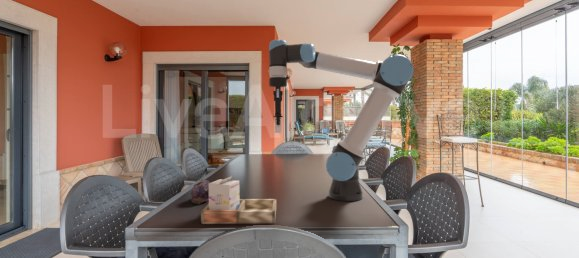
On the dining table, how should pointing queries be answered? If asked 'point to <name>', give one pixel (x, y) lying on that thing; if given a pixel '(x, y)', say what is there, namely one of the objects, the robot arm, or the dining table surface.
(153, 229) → the dining table surface
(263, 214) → the divided tray
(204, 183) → the rock
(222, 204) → the ink box
